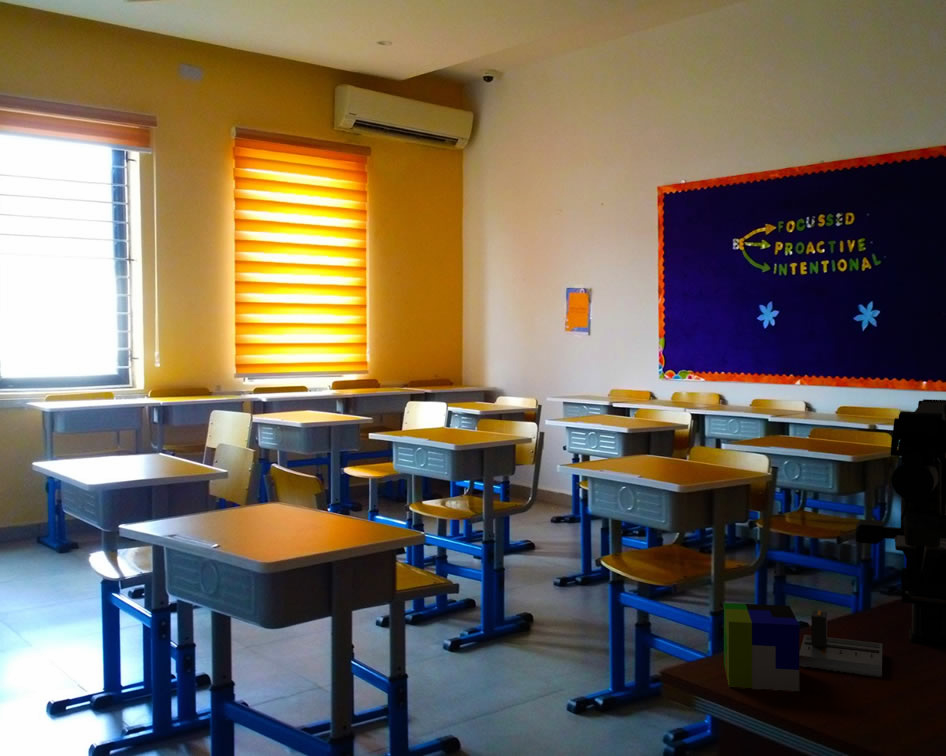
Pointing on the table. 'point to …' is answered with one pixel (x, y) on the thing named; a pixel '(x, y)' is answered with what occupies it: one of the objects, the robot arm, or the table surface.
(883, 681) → the table surface
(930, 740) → the table surface
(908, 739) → the table surface
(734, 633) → the puzzle toy
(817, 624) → the fader knob
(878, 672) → the console plate
